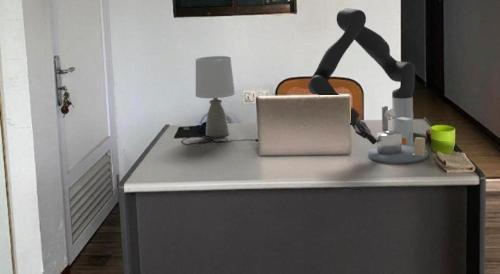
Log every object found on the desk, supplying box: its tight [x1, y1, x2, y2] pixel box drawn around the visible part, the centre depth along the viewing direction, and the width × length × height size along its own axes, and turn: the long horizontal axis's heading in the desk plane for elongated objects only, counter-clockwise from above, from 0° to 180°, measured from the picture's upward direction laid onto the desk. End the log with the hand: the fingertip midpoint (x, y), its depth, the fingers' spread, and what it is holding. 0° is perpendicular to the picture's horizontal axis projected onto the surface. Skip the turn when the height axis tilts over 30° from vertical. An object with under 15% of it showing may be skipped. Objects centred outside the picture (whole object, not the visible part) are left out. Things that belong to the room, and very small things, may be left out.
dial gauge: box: [381, 105, 396, 132], centre depth 322 cm, size 8×10×18 cm
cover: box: [376, 130, 402, 155], centre depth 311 cm, size 10×10×8 cm
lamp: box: [195, 55, 236, 138], centre depth 362 cm, size 19×19×37 cm
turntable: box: [367, 136, 429, 165], centre depth 311 cm, size 24×24×9 cm
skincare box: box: [397, 117, 414, 146], centre depth 328 cm, size 6×4×12 cm
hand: (375, 142), depth 313 cm, fingers closed
